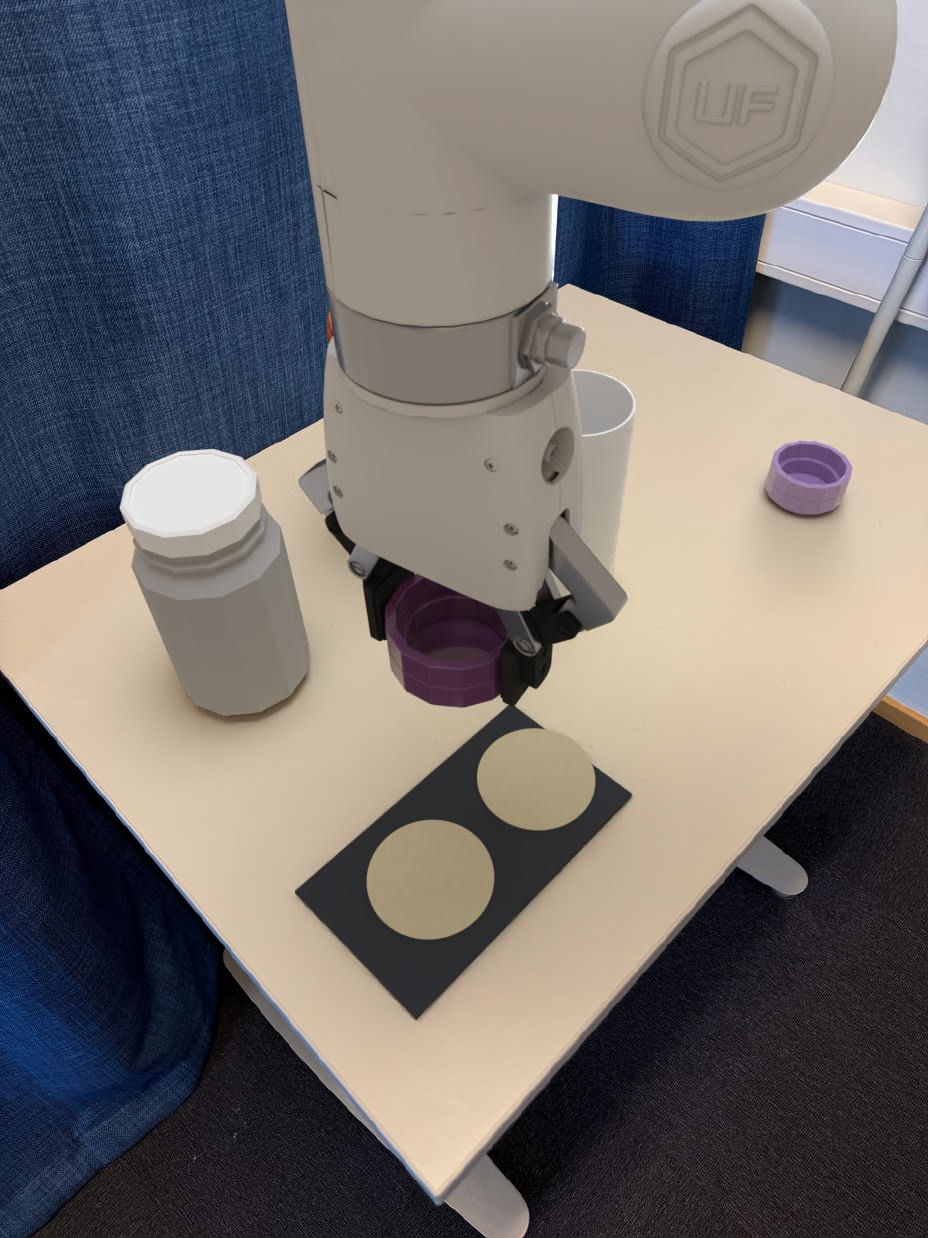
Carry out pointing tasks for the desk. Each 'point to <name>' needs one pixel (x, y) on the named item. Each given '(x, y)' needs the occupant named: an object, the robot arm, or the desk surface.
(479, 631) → the plum dish
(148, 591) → the jar
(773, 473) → the lilac dish
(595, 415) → the cup
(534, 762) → the mat
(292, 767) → the desk surface
